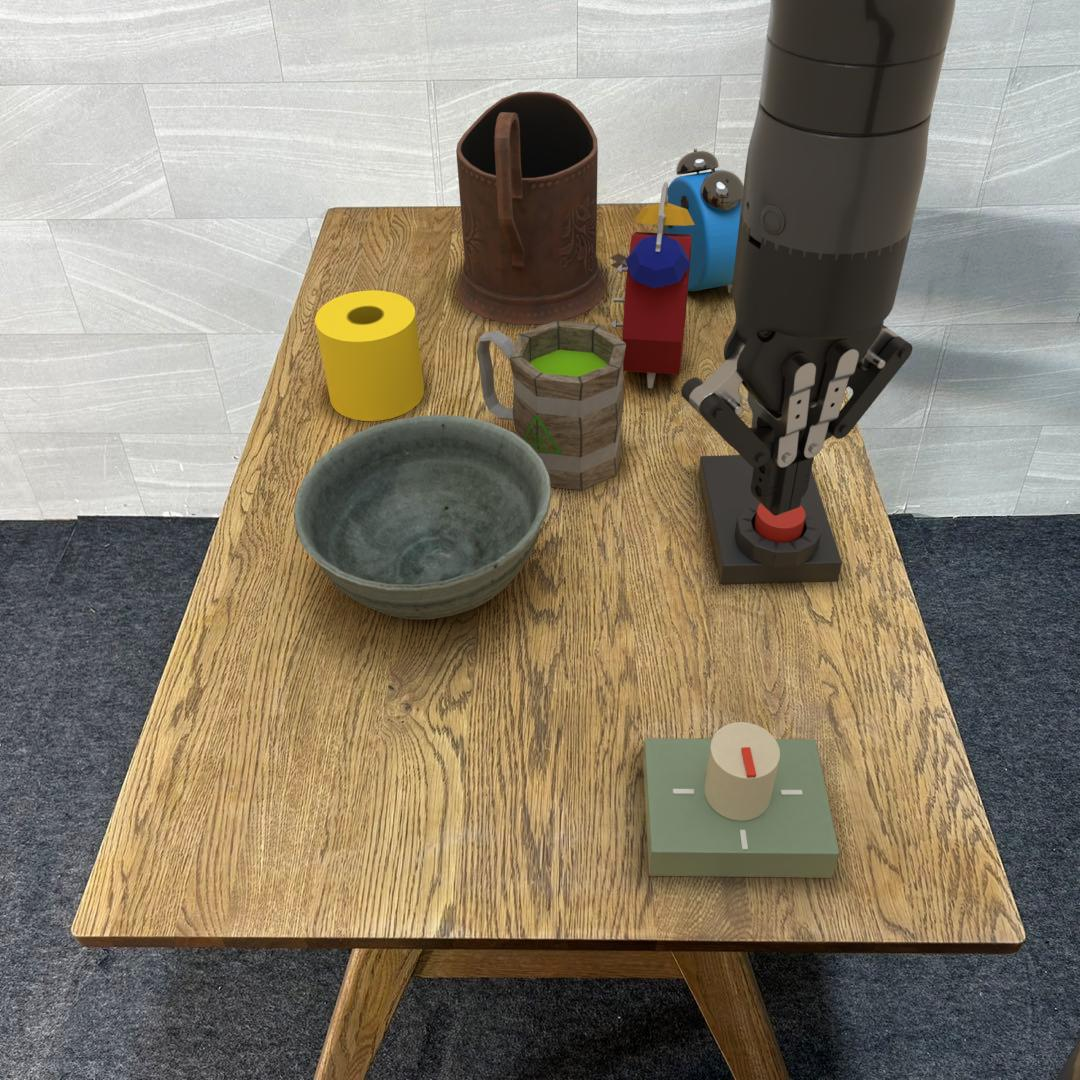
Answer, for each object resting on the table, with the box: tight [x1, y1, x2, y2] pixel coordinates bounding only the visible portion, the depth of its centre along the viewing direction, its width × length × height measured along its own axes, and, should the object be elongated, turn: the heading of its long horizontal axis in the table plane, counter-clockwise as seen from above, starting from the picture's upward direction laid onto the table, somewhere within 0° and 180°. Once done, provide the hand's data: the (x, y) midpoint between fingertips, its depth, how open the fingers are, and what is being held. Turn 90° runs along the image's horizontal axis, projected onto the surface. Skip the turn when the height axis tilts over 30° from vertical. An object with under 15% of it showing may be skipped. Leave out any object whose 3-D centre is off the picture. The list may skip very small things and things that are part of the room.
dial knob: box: [704, 721, 780, 821], centre depth 68 cm, size 4×4×5 cm
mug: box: [476, 320, 626, 491], centre depth 99 cm, size 16×11×12 cm
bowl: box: [293, 414, 552, 620], centre depth 87 cm, size 21×21×10 cm
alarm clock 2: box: [605, 181, 695, 390], centre depth 108 cm, size 15×9×20 cm, turn 171°
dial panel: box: [642, 737, 840, 879], centre depth 71 cm, size 12×9×3 cm
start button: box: [755, 503, 805, 543], centre depth 88 cm, size 4×4×2 cm
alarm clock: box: [665, 148, 744, 294], centre depth 122 cm, size 13×6×15 cm, turn 18°
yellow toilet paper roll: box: [314, 289, 425, 422], centre depth 108 cm, size 10×10×9 cm
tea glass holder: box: [455, 91, 608, 325], centre depth 117 cm, size 18×24×25 cm
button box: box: [698, 454, 843, 585], centre depth 93 cm, size 15×10×4 cm, turn 1°
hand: (776, 503), depth 58 cm, fingers closed
